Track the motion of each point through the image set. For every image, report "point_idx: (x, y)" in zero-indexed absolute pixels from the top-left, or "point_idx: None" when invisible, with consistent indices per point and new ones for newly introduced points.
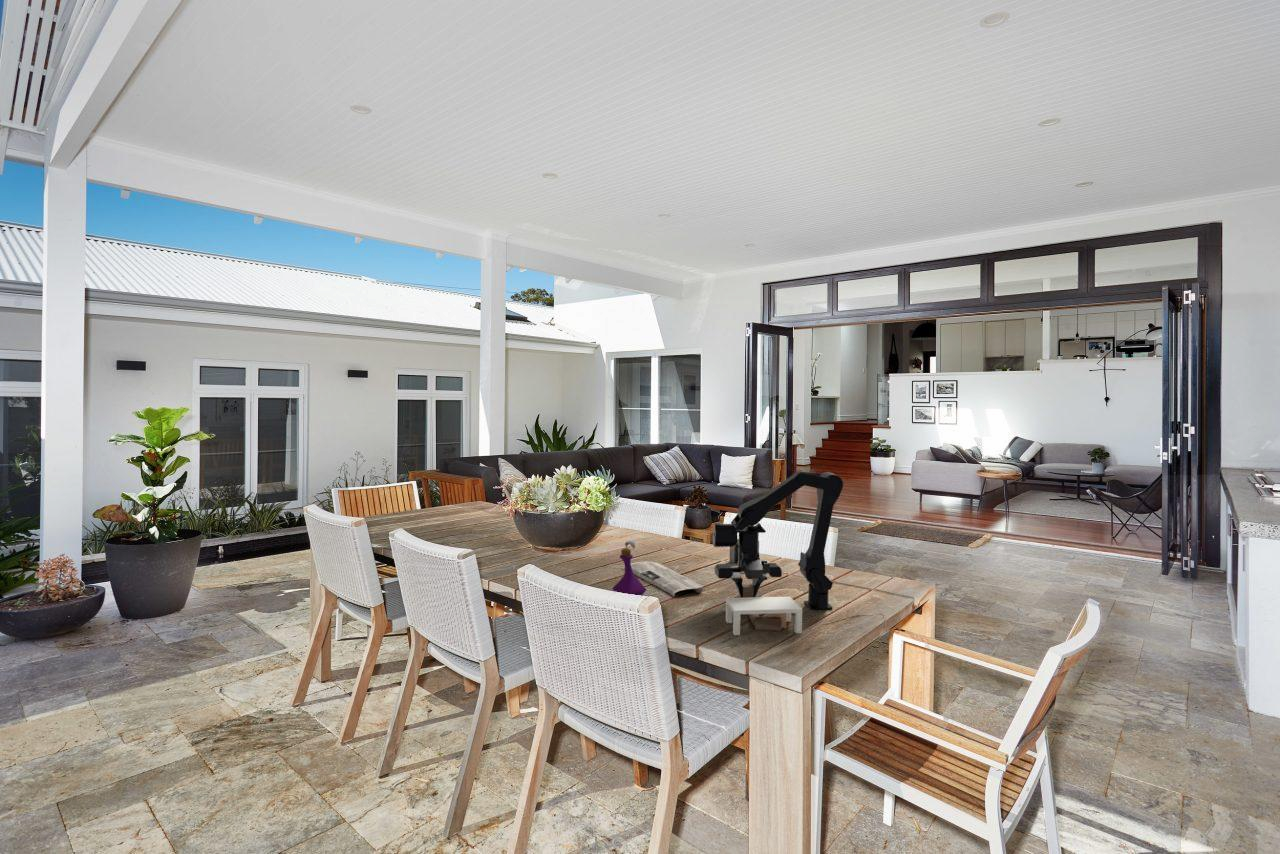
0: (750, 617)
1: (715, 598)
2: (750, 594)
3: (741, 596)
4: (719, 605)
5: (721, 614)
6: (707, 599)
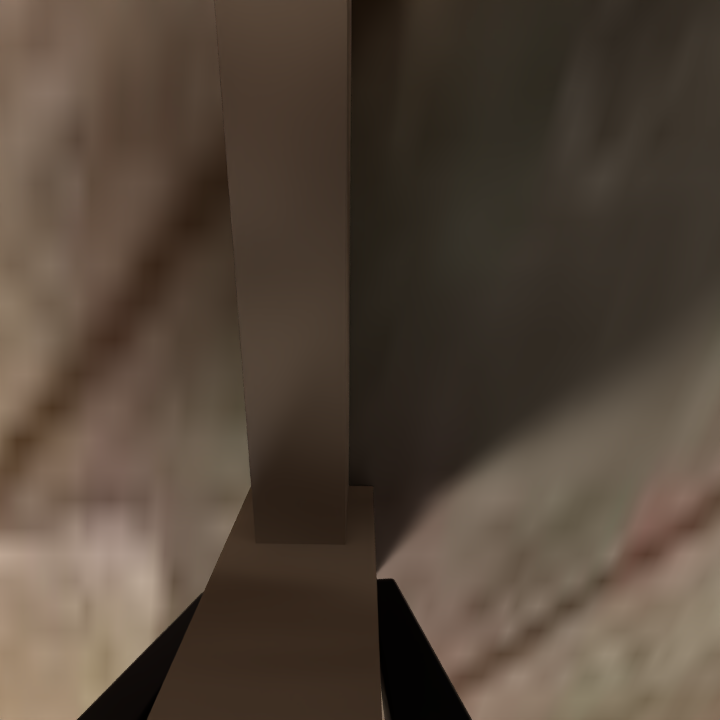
0: (350, 29)
1: (598, 716)
2: (243, 631)
3: (400, 615)
4: (625, 548)
5: (716, 252)
6: (689, 694)
